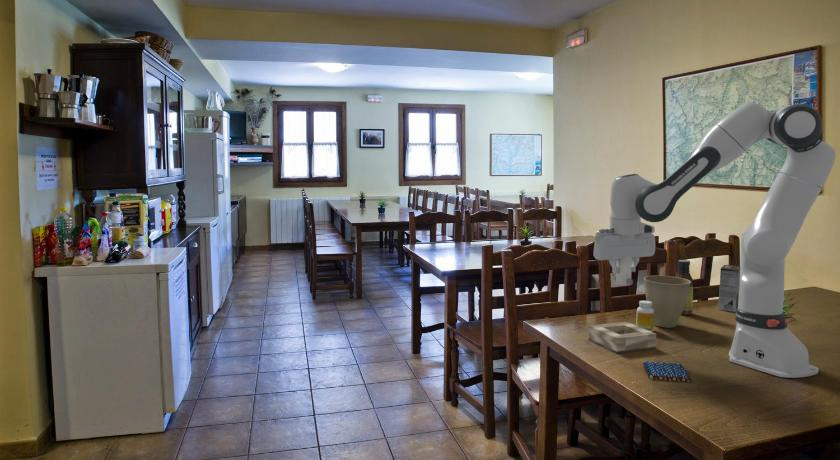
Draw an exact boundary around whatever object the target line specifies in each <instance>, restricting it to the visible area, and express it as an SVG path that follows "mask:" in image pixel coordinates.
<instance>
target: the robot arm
mask: <svg viewBox="0 0 840 460" xmlns="http://www.w3.org/2000/svg"><path fill="white" fill-rule="evenodd" d="M822 122H823V121H822V118H821V115H820V113H819V112H818V111H817V109H815V108H814V107H812V106H810V105H808V104H803V103H798V104H796V103H795V104H788V105H785V106H783V107H781V108H777V109H773V110H771V111H770V110H767V109H766V107H764V106H763V105H761V104H759V103H756V102H750V101H749V102H746V103H744V104H741V105H740V106H738V107H737V108H735V109H734V110H732V111H730V112H729V113H727V114H726V115H725V116H723V117H722V119H720V120H719V121H718V122H717V123H716V124H714V125H713V126H712V127H711V128H710V129H709V130H708V131H707V132H706V133H705V134H704V135H703V136H702V138H701V139H700V140H699V142H698V143H697V145H696V147H695V148H694V150H693V151H692V153H691V154H690V156H689V158H688V159H687V160H686V161H685V162H684V163H683V164H682V165H680V166H679V168H677V169H676V170H675V171H674V172H673V173H671V175H669V176H668V177H666V179H664V180H663V181H661V182H660V183H655V182H652V181H650V180H648V179H645V178H644V177H642V176H640V174H637V173H632V174H631V173H630V174H626V175H620V176H618V177H616V178H615V179H613V180H612V183H611V185H610V186H611V187H610V201H609V203H610V210H611V211H610V215H609V216H610V217H609V228H606V229H605V228H604V229H603V228H600V229H599V230H598V231H597V232H596V233H595V235H594V236H595V237H594V245H593V257H594V258H595V260H598V261H608V262H609V264H610V267H611V269H612V270H611V273H613V274H615V275H616V274H617V273H620V268H619V267H617V265H616V263H617V259H623V258H624V257H625V256H632V271H631V273H636V267H637V266H638V264H639V262H640V258H647V257H653V256H654V255H655V253H656V236H655V235H654V234H653V233H655V230H656V229H655V226H654V225H651V224H647V223H644V222H642V221H641V219H642V220H644V221H646V222H649V223H660V222H663V221H664V220H666V219H668V217H670V216H671V214H672V213H673V211H674V209H675V206H676V204H677V202H678V201H679V200H680V198H682V196H683V195H685V194H686V193H687V192H688V191H690V190H691V189H692V188H693V187H694V186H695V185H696V184H697V183H698V182H700V181H701V180H702V179H704V178H705V177H707V176H708V175H710V174H712V173H713V172H716V171H718V170H720V169H722V168H724V167H725V166H728V165H730V164H731V163H733V162H734V161H735V160H737V159H738V158H740V156H742V155H743V154H744V153H746V152H747V151H748V150H749V149H750V148H751V147H753V146H755V144H757V143H758V142H760V141H762V140H764V139H765V140H768V141H770V142H772V143H773V144H776V145H779V146H782V147H783V146H784V147H785V149H786V153H787V154H786V158H785V161H784V163H783V165H782V167H780V170H779V172H778V174H777V175H776V177H775V178H774V181H773V182H772V184H771V186H770V188H769V189H768V190H767V191H768V192H767V193H766V194H765V197H764V199H763V202H762V203H761V205H760V207H759V209H758V212H757V214H756V215H755V218H754V220H753V221H752V223H751V224H749V226H748V227H747V228H745V230H744V231H743V233H742V235H741V241H740V242H741V244H740V245H741V246H740V261H739V262H740V265H739V266H740V284H739V300H738V307H737V308H736V312H735V319H734V320H735V321H736V325H735V331H734V336H733V340H732V343H731V346H730V349H729V352H728V356H729V362H731V363H733V364H737V365H740V366H744V367H746V368H749V369H753V370H757V371H760V372H763V373H767V374H768V375H769V374H770V375H773V376H776V377H780V378H789V379H790V378H794V379H796V378H806V377H811V376H815V375H817V374H819V367H817V366H815V365H813V364H810V357H809V356H810V355H809V351H808V348H807V346H805V344H804V343H802V342H801V340H800V339H799V338H797V337H796V336H795V335H794V333H793V332H792V331H791V330H790V329H789V327H788V324H791V320H792V318H786V315H785V313H784V309H783V308H784V295H785V259H786V258H787V256H788V255H789V252H790V251H791V248H792V247H793V245H794V243H795V240H797V237H798V235H799V233H800V231H801V229H802V226H803V224H804V222H805V220H806V217H807V216H808V213H809V212H810V210H811V208H812V207H813V205H814V203H815V202H816V201H817V199H818V197H819V195H820V194H821V191H822V190H823V187H824V186H825V185H826V183H827V180H828V178H829V177H830V174H831V172H832V169H833V166H834V164H835V160H836V155H837V154H836V151H835V149H834V148H833V147H832V146H831V145H830V144H829V143H827V142H825V141H823V125H822V124H823V123H822Z"/></svg>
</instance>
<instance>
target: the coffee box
mask: <svg viewBox="0 0 840 460" xmlns="http://www.w3.org/2000/svg"><path fill="white" fill-rule="evenodd" d="M719 274H720V275H719V289H718V290H719V292H718V307H717V308H718V310H720V311H725V312H726V311H727V312H733V313H734V312H735V313H736V308H737V307H738V300H739V284H740V265H737V266H736V265H733V264H732V265H729V264H724V265H722V267H721V268H720V273H719Z"/></svg>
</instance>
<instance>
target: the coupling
mask: <svg viewBox="0 0 840 460" xmlns="http://www.w3.org/2000/svg"><path fill="white" fill-rule="evenodd" d="M616 265H617V267H619V268H620V273H617V274H615V276H614V281H615V284H616V285H618V286H624V287H627V286H631V285H633V283H634V281H633V279H632V272H631V271H632V256H625V257H624V258H623V259H617V263H616Z"/></svg>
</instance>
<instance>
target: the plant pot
mask: <svg viewBox="0 0 840 460" xmlns="http://www.w3.org/2000/svg"><path fill="white" fill-rule="evenodd" d="M643 283H644V293H645V298H646V300H645V301H650V302H652V307H651V308H652V309H653V310H654V322H653V326H656V327H660V328H675V327H676V326H677V324H678V322H679V320H680V318H681V314H682V311H683V309H684V306H685V303H686V300H687V296H688V292H689V288H690V284H691V281H689V280H687V279H684V278H679V277H676V276H671V275H670V276H669V275H648V276H644V277H643Z"/></svg>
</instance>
